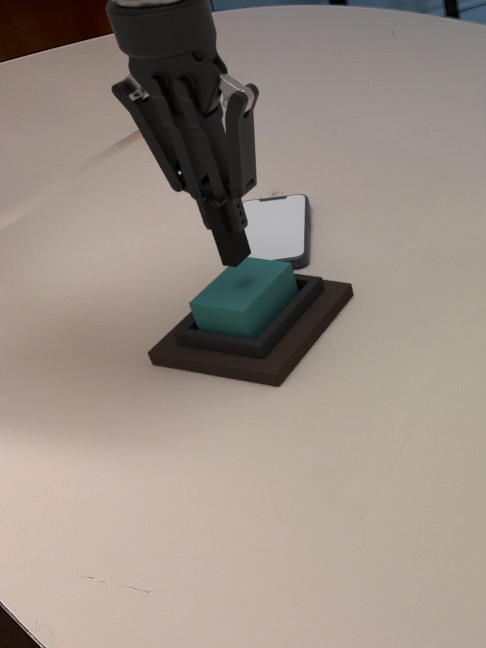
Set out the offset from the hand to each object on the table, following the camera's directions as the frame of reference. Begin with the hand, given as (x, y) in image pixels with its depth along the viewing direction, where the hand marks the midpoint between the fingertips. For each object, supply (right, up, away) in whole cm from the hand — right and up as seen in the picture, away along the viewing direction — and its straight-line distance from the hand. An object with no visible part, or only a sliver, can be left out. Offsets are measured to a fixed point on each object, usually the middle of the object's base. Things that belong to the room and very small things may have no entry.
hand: (237, 258), depth 78 cm
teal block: (0, -5, +4) cm, 7 cm away
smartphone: (-3, +6, +20) cm, 21 cm away
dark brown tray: (0, -6, +5) cm, 8 cm away
